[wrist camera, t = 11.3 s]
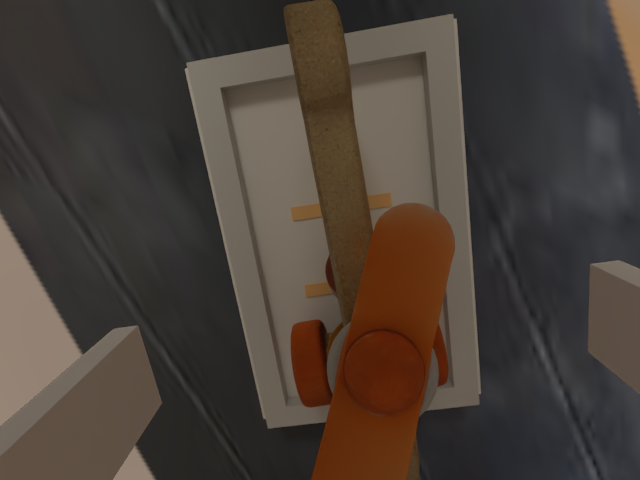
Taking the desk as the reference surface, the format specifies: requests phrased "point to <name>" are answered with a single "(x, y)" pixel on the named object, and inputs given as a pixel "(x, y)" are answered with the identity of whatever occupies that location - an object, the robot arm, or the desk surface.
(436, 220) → the toy helicopter
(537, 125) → the desk surface
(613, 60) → the desk surface
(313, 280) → the plate
